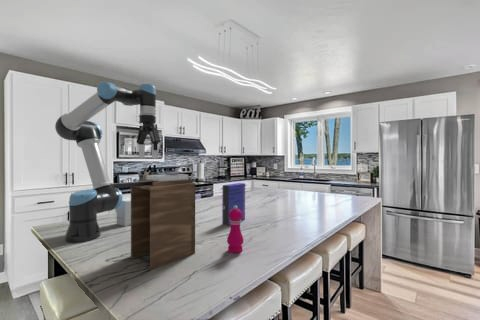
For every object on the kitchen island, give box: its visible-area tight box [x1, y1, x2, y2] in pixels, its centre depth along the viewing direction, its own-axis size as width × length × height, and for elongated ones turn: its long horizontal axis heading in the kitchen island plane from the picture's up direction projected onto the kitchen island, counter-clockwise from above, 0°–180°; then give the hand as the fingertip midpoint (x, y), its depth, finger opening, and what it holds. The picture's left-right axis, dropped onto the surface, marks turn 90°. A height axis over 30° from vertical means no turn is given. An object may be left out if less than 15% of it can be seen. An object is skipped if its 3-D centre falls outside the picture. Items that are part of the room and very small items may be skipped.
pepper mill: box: [226, 205, 244, 254], centre depth 109 cm, size 7×7×20 cm
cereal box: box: [221, 182, 246, 226], centre depth 156 cm, size 17×5×24 cm, turn 144°
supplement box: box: [116, 197, 131, 227], centre depth 150 cm, size 9×9×15 cm
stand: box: [130, 178, 196, 270], centre depth 103 cm, size 17×20×32 cm
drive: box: [110, 171, 189, 189], centre depth 99 cm, size 10×30×4 cm, turn 138°
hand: (147, 157), depth 126 cm, fingers open, 13 cm apart
